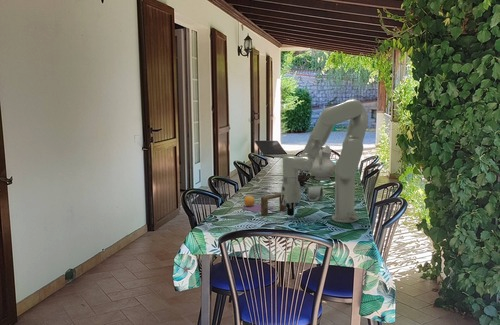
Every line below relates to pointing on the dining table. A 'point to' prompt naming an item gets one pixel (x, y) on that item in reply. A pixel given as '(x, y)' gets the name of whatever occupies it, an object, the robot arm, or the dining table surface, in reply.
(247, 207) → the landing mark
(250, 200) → the ball
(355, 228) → the dining table surface
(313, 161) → the robot arm
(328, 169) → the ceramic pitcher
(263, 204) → the bridge
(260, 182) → the dining table surface
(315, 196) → the ceramic mug
